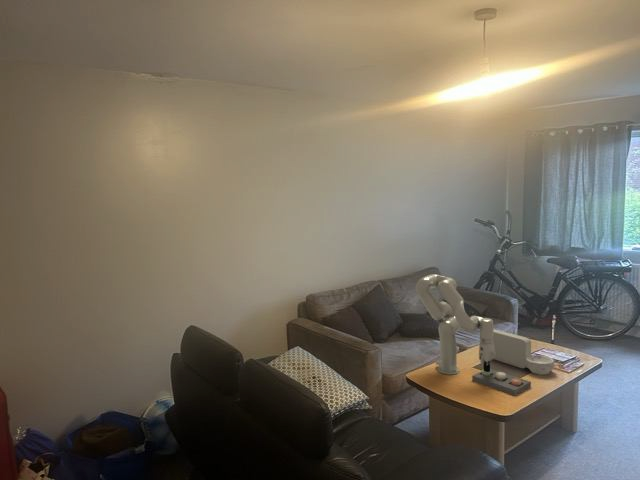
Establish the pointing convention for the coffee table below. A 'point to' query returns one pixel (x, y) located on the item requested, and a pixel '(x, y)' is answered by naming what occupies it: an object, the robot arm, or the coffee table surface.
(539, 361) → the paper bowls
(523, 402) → the coffee table surface
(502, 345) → the rounded white slab
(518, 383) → the terracotta button
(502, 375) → the cream button
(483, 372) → the sage button
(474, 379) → the console
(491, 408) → the coffee table surface
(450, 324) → the robot arm
